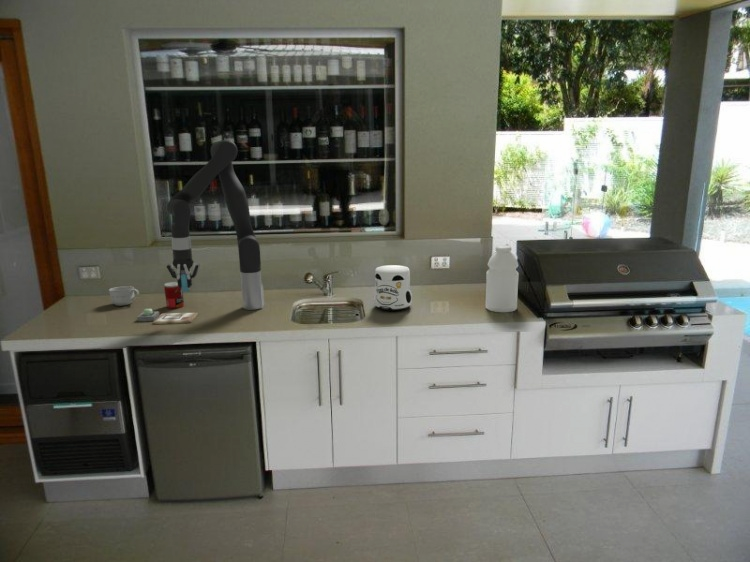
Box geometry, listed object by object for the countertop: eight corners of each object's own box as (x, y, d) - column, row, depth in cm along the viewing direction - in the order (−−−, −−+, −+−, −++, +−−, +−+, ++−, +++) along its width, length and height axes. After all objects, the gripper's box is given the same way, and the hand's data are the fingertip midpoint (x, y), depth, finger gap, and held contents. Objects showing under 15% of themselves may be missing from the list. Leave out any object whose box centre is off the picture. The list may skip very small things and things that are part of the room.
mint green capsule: (154, 314, 246) (153, 308, 245) (151, 317, 242) (150, 310, 242) (145, 315, 246) (144, 308, 245) (142, 317, 242) (142, 311, 241)
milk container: (378, 314, 243) (377, 274, 239) (370, 303, 260) (369, 265, 255) (416, 311, 247) (416, 272, 242) (406, 300, 263) (406, 263, 258)
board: (198, 314, 249) (198, 311, 249) (191, 322, 237) (190, 320, 237) (162, 315, 248) (161, 312, 248) (153, 324, 237) (152, 321, 236)
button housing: (159, 315, 248) (159, 311, 247) (154, 320, 241) (153, 316, 241) (143, 316, 248) (143, 311, 247) (137, 321, 241) (137, 316, 240)
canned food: (178, 309, 257) (176, 286, 254) (163, 308, 258) (160, 285, 255) (187, 304, 264) (185, 281, 261) (172, 303, 265) (169, 281, 263)
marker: (190, 289, 239) (188, 268, 237) (188, 291, 236) (186, 270, 234) (182, 289, 239) (181, 268, 236) (180, 291, 236) (179, 270, 233)
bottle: (479, 308, 249) (480, 247, 242) (495, 301, 259) (497, 242, 251) (507, 315, 240) (509, 251, 232) (523, 307, 249) (526, 246, 242)
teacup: (106, 306, 264) (103, 289, 262) (124, 299, 273) (121, 284, 271) (128, 309, 258) (126, 292, 256) (146, 302, 268) (143, 286, 266)
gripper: (201, 245, 237) (204, 285, 241) (167, 245, 236) (171, 285, 240) (196, 249, 229) (199, 289, 234) (161, 249, 229) (165, 289, 233)
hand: (185, 287), depth 237 cm, fingers closed on marker, 3 cm apart
